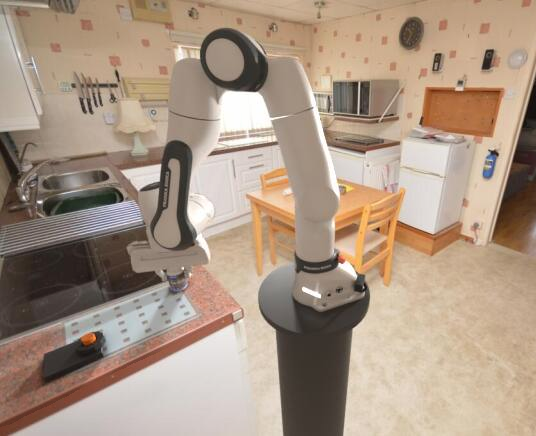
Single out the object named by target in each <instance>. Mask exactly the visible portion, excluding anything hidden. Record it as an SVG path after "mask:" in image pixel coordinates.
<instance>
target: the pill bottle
mask: <svg viewBox="0 0 536 436" xmlns="http://www.w3.org/2000/svg"><path fill="white" fill-rule="evenodd" d="M185 271H186V270H185V267H182V268H176V267H173V268H169V269H166V272H165V273H166V274H167V277H168V281H167V282H168V285H169V288H170V290H171V291H172V292H181V291H183V290H185V289H186V288H187V286H188V281H187V278H185V276H184V273H185Z"/></svg>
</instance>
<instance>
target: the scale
mask: <svg viewBox="0 0 536 436" xmlns="http://www.w3.org/2000/svg"><path fill="white" fill-rule="evenodd" d="M90 333H94V335H95V337H96V341H95V342H94V343H92V344H90V345H88V346H84V345H83V343H82V341H81V338H82V337H83V336H84V335H81V336H80V338H78V339H77V340H75V341H73V342H71V343H67V344H65V345H63V346H60V347H58V348H55V349H53V350H51V351H48V352H46V353H45V352H44V353H43V371H42V379H43V381H44V382H45V383H48V382H50V381H53V380H55V379H57V378H59V377H62V376H63V375H65V374H68V373H70V372H73V371H75V370H77V369H79V368H82V367H84V366H87V365H88V364H90V363H93V362H95V361H98V360H100V359H102V358H104V357H105V354H104V345H105V343H106V341H107V339H106V336H105V334H104V333H103V332H102V331H99V330H96V331H91V332H90Z"/></svg>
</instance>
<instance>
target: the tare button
mask: <svg viewBox="0 0 536 436" xmlns="http://www.w3.org/2000/svg"><path fill="white" fill-rule="evenodd" d="M82 336H83V337H82ZM82 336H81V337H82V338H81V337H80V338H81V341H82V343H83V345H84V346H88V345H90V344H92V343H94V342H95V341H96V337H95V335H94V333H91V332H87V333H85V334H84V335H82Z"/></svg>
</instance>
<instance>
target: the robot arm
mask: <svg viewBox="0 0 536 436" xmlns="http://www.w3.org/2000/svg"><path fill="white" fill-rule="evenodd" d="M171 71H172V72H171V76H170V82H169V90H168V99H167V101H168V102H167V103H168V105H167V107H168V108H167V109H168V111H167V112H168V113H167V129H166V130H167V131H166V139H165V144H164V149H163V153H162V157H161V164H160V174H159V181H155V182H153V183H149V184H146V185H145V186H143V187H141V188H139V190H138V192H137V202H138V209H139V213H140V216H141V219H142V222H144V224H145V233H146V237H147V240H139V241H137V240H136V241H135V240H134V241H131V243H129V244H127V245H126V251H127V254H128V256H130V264H131V269H132V271H133V272H135V273H137V274H140V273H148V272H155V274H156V275H157V276H159V278H161V281H162V282H169V281H168V277H167V274H166V272H164V271H167V269H169V268H173V267H176V268H182V267H184V268H186V270H184V271H185V273H184V276H185V278H186V279H191V277H192V273H191V272H192V270H193V267H197V266H206V265H208V264H209V263H210V261H211V251H210V247H209V245H208V243H207V241H206V239H204V238H203V233H202V232H204V231H205V229H206V228H208V226H209V225H210V224H211V222H212V221H213V220H214V218H215V217H216V208H215V206H214V204H213V202H212V200H211V199H210V198H208V196H206V195H203V194H201V193H193V192H192V186H193V179H194V177H195V174H196V173H197V171H198V169H199V167H200V166H201V165H202V163H203V162H204V161H205V159H207V157H209V155H210V154H211V153H212V152H213V151H214V150H215V148H216V147H217V145H218V143H219V139H220V136H221V131H222V125H223V124H222V123H223V110H224V109H223V108H224V106H223V105H224V101H225V97H226V96H227V94H228V93H229V92H235V93H239V92H240V93H242V92H243V93H257V94H259V95H260V97H261V98H262V100H263V102H264V104H265V107H266V110H267V113H268V116H269V120H270V123H271V126H272V128H273V129H272V130H273V132H274V135H275V139H276V141H277V144H278V147H279V150H280V154H281V157H282V162H283V164H284V168H285V173H286V176H287V179H288V183H289V187H290V191H291V193H292V197H293V200H294V201H293V202H294V230H295V231H294V236H295V238H294V239H295V240H294V241H295V249H294V253H293V254H294V255H293V261H294V268H295V278H294V282H293V286H292V289H291V293H292V296H293V297H294V299H295V300H296V301H298V302H299V303H301V304H304V305H307V306H310V307H312V308H314V309H315V310H317V311H319V312H323V311H326V310H329V309H332V308H335V307H338V306H341V305H344V304H347V303H350V302H353V301H356V300H359V299H362V298H363V297H364V295H365V291H366V290H367V285H368V284H367V285H366V283H367V282H366V283H365V281H366V274H364V273H359V272H358V275H357V274H356V272H355V271H356V269H355V268H354V267H353V265H352V264H351V263H350V262H349V261H347V260H346V258H345V256H344V255H343V254H341V251H340V250H339V248H337V246H336V244H335V242H336V241H335V239H336V238H335V237H336V222H335V216H336V214H337V213H338V211H339V209H340V203H341V192H340V187H339V184H338V181H337V180H338V179H337V176H336V173H335V170H334V169H335V168H334V165H333V162H332V159H331V158H332V157H331V155H330V151H329V148H328V144H327V140H326V137H325V133H324V129H323V124H322V121H321V117H320V113H319V109H318V105H317V101H316V98H315V94H314V91H313V89H312V86H311V83H310V80H309V78H308V76H307V73H306V70H305V69H304V66H303V65H302V63H301V62H300V61H299V60H298V59H296V58H294V57H292V56H287V55H285V56H283V55H282V56H277V57H269V56H268V55H267V52H266V51H265V49H264V47H263V46H262V45H261V44H260V43H259V42H258V41H257V40H256V39H254V38H253V37H252V36H251V35H249V34H248V33H246V32H243V31H241V30H238V29H235V28H231V27H219V28H216V29H214V30H213V31H211V32H208V34H207V35H206V36H205V37H204V38H203V40H202V42H201V44H200V48H199V58H197V57H184V58H181V59H179V60H177V61H176V62H175V63H174V64H173V66H172V70H171Z"/></svg>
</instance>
